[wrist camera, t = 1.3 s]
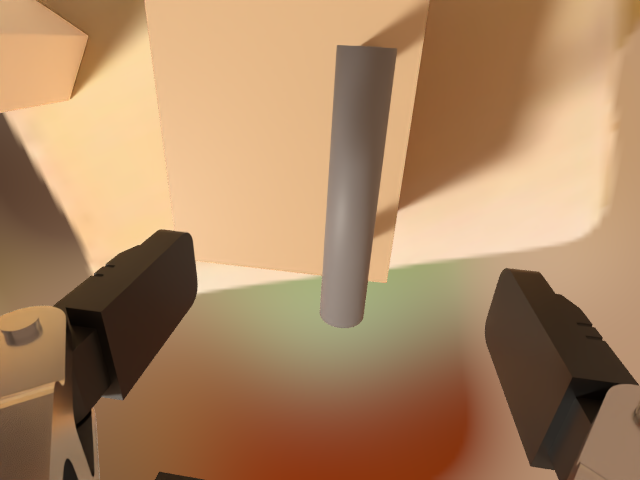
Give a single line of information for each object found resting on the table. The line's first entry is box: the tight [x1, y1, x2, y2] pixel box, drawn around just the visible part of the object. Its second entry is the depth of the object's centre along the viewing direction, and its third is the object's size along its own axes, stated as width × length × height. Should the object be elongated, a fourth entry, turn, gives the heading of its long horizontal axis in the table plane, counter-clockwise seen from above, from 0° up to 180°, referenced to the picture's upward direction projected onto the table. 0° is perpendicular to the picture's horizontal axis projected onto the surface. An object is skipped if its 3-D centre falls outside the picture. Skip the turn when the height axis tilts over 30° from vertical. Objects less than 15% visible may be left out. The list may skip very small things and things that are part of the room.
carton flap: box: [144, 0, 430, 328], centre depth 19 cm, size 16×14×9 cm
